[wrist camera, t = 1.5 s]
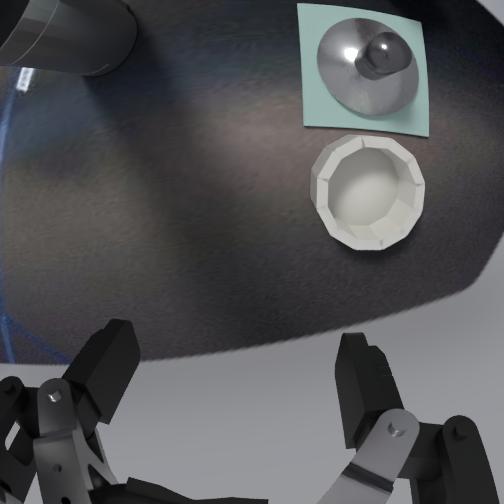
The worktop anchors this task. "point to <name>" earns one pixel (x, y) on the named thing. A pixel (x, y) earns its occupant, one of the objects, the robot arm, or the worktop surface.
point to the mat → (330, 109)
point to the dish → (367, 191)
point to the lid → (367, 66)
